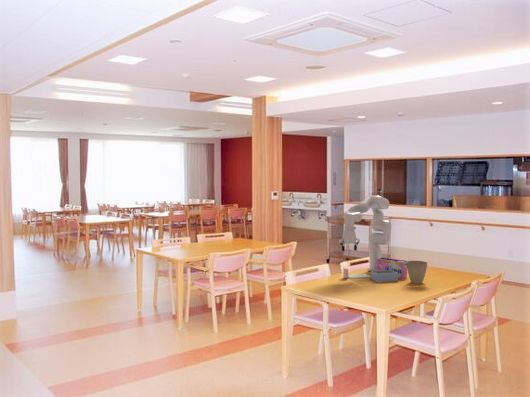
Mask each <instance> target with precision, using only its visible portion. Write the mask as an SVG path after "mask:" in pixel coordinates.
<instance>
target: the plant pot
mask: <svg viewBox="0 0 530 397" xmlns="http://www.w3.org/2000/svg"><path fill="white" fill-rule="evenodd" d="M406 261H407V262H406V263H407V275H408V277H409V280H410V283H411V284H416V285H418V284H419V285H420V284H423V282H424V279H425V277H426V273H427V268H428V262H427V261H423V260H406Z"/></svg>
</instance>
